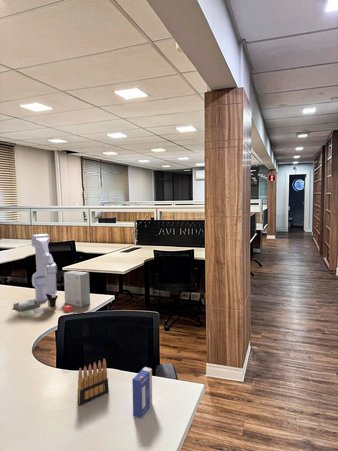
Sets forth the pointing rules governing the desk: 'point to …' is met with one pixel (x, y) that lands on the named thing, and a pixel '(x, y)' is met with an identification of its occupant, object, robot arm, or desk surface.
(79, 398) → the ammunition clip
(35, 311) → the game mat
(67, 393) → the desk surface
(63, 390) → the desk surface
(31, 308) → the button housing
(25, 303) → the dome button
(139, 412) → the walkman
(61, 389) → the desk surface
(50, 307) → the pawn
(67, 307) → the red die
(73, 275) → the hard drive box
